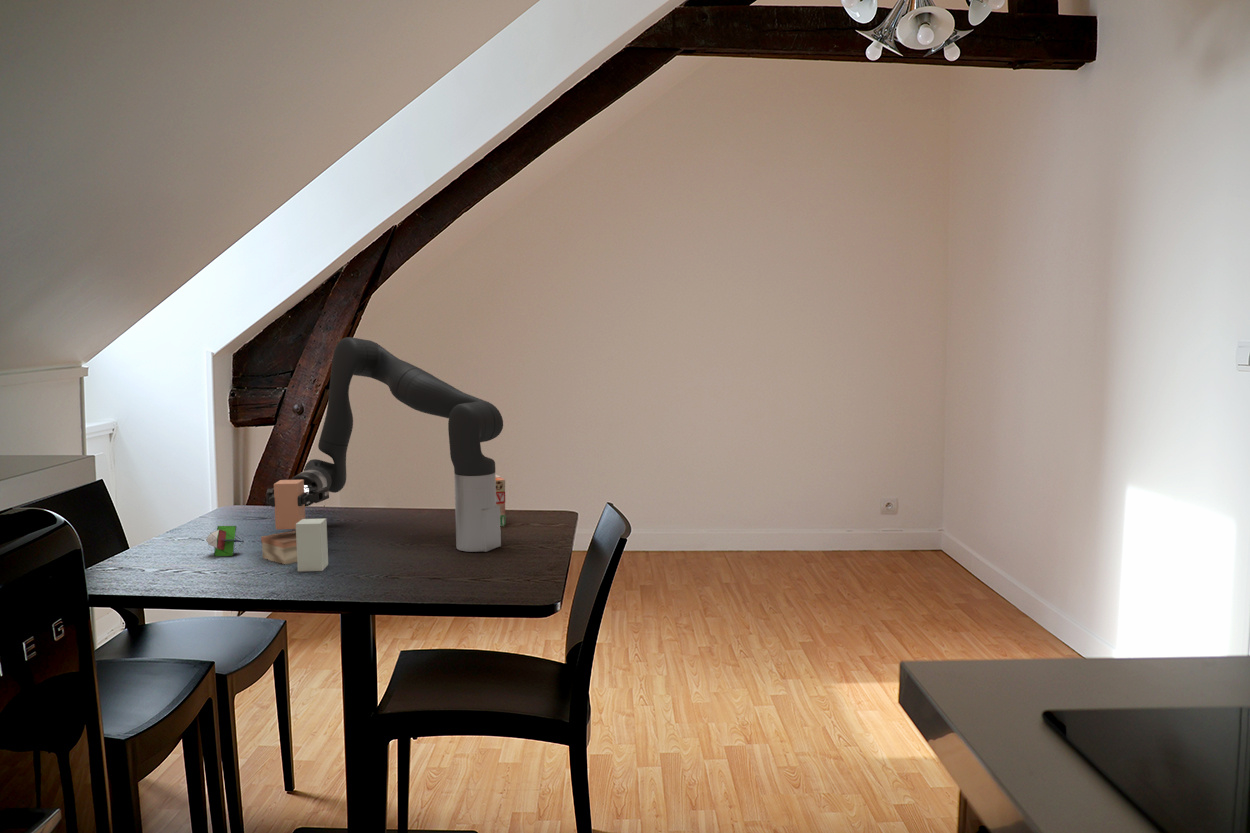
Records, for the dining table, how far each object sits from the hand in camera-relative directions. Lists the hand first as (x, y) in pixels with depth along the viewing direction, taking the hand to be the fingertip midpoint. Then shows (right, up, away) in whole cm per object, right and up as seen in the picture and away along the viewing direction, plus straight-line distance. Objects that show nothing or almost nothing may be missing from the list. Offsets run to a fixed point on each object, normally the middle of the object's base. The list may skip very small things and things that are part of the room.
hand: (286, 501), depth 198 cm
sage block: (+8, -13, -6) cm, 16 cm away
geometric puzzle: (-16, -13, +6) cm, 21 cm away
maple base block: (0, -13, +4) cm, 13 cm away
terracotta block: (0, -6, +3) cm, 7 cm away
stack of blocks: (+36, -9, +41) cm, 56 cm away
